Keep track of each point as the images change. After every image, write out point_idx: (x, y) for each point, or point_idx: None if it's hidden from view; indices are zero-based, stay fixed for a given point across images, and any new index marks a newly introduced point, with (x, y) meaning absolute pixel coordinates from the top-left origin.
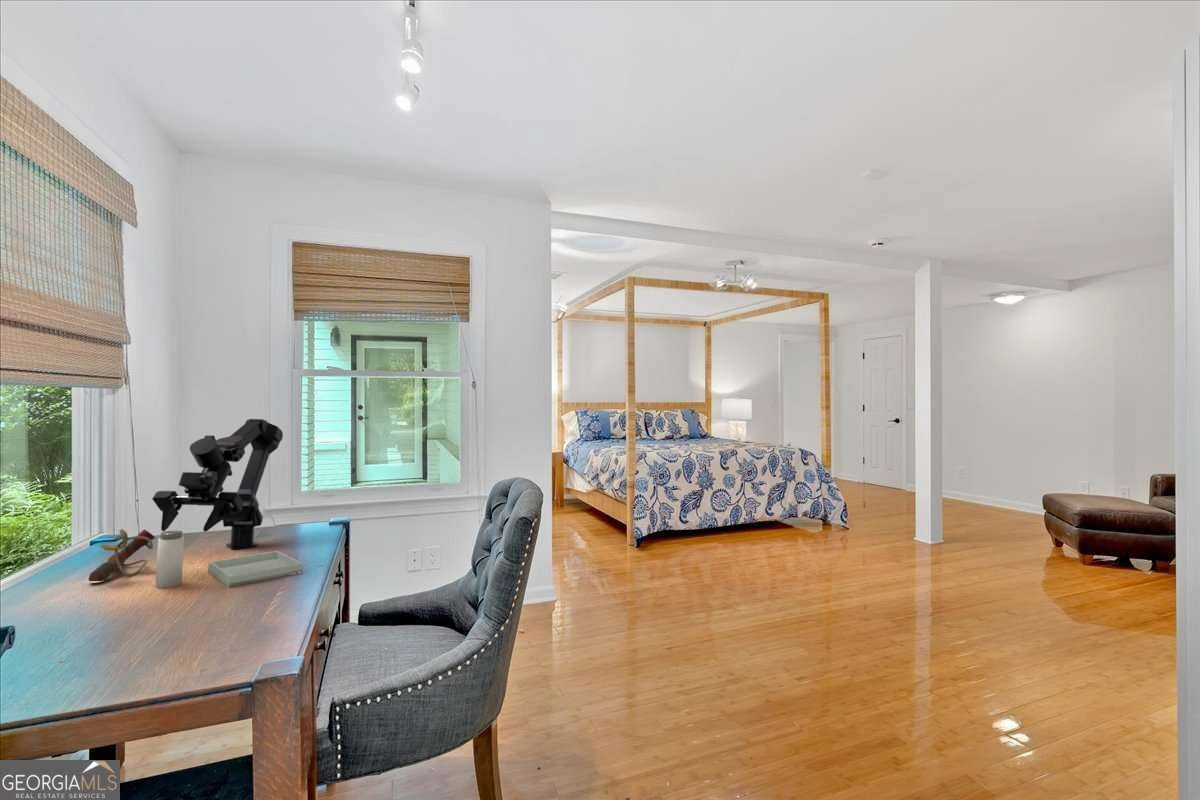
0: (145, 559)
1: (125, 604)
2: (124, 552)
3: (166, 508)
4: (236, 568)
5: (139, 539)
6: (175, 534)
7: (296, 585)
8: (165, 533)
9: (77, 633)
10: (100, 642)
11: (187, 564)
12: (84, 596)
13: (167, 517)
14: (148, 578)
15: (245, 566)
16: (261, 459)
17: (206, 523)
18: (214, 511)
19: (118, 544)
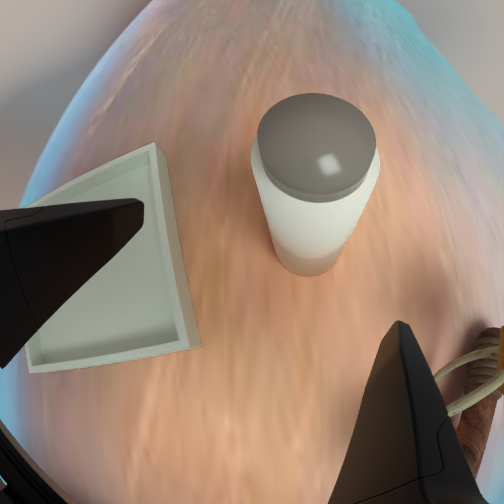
0: None
1: (373, 123)
2: (470, 440)
3: (450, 492)
4: (125, 301)
5: None
6: (289, 100)
7: (73, 137)
8: (347, 124)
9: (387, 41)
10: (344, 13)
11: (264, 474)
12: (476, 226)
13: (403, 401)
14: (372, 349)
15: (104, 312)
16: None
17: (106, 204)
18: (9, 216)
19: None
